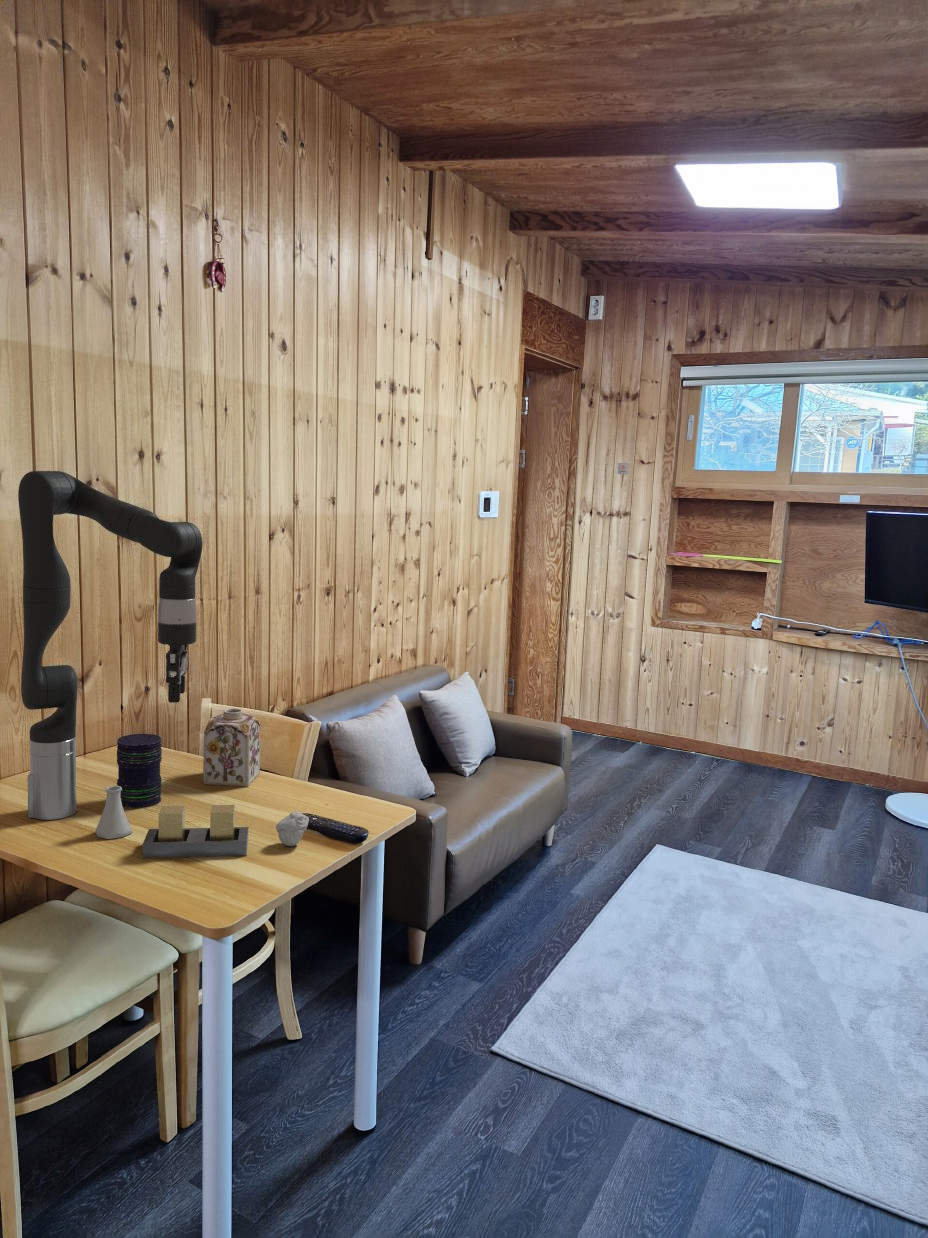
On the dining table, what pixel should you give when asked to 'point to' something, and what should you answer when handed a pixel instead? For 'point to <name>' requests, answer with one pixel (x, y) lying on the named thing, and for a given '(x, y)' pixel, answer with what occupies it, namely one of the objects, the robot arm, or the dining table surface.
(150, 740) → the storage jar
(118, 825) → the flask
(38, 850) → the dining table surface
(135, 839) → the dining table surface
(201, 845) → the grey slotted tray
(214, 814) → the beige wooden block
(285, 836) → the frog figurine
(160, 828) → the block
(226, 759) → the decorative jar
